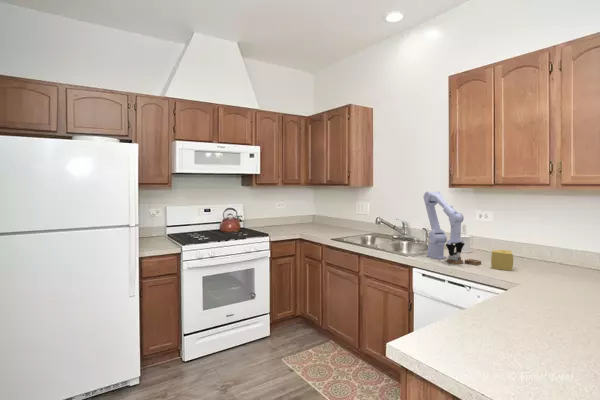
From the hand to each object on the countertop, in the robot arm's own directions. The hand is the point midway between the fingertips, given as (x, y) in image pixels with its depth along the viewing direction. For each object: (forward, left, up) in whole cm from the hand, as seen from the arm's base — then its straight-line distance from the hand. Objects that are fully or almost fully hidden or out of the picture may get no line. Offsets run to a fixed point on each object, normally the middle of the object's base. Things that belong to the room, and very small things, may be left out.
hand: (454, 254), depth 202 cm
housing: (0, 0, -3) cm, 3 cm away
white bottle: (-16, +39, -5) cm, 42 cm away
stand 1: (0, 0, -5) cm, 5 cm away
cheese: (+21, +13, -5) cm, 25 cm away
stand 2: (+7, +8, -5) cm, 12 cm away
